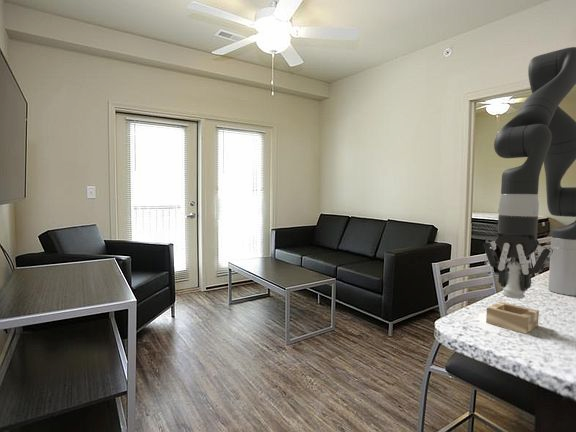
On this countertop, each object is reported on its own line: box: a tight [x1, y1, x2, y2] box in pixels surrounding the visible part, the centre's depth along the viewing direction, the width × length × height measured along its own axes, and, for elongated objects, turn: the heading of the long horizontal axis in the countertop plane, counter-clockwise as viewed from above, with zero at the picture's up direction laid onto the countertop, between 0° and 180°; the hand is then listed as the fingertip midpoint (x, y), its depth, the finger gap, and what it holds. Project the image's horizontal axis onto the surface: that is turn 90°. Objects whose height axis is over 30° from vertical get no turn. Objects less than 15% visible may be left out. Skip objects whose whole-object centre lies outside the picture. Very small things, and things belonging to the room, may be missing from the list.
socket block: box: [485, 301, 540, 334], centre depth 78 cm, size 8×8×4 cm
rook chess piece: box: [501, 260, 526, 300], centre depth 78 cm, size 4×4×8 cm
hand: (513, 287), depth 78 cm, fingers closed on rook chess piece, 3 cm apart
